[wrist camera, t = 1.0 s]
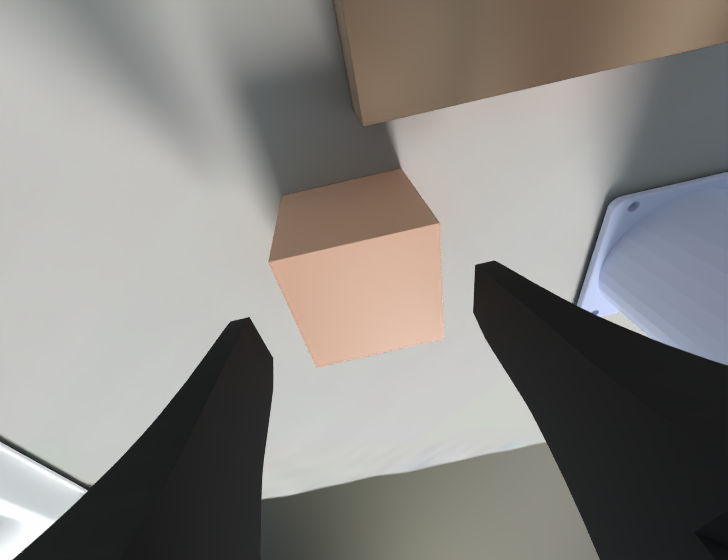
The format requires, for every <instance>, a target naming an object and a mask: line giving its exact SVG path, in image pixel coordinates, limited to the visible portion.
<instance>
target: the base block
mask: <svg viewBox="0 0 728 560" xmlns="http://www.w3.org/2000/svg"><path fill="white" fill-rule="evenodd" d="M333 4H334V10H335V15H336V21H337V26H338V31H339V37H340V42H341V48H342V53H343V59H344V64H345V69H346V75H347V80H348V86H349V91H350V96H351V102H352V107H353V110H354V112H355V114H356V115H357V117H358V119H359V120H360V122H361V123H362V125H363V127H364V126H368V125H372V124H377V123H381V122H385V121H390V120H394V119H398V118H403V117H407V116H411V115H415V114H420V113H424V112H428V111H433V110H437V109H441V108H446V107H450V106H454V105H458V104H463V103H467V102H471V101H476V100H480V99H484V98H489V97H493V96H497V95H501V94H506V93H510V92H514V91H519V90H523V89H527V88H532V87H536V86H540V85H544V84H549V83H553V82H557V81H562V80H566V79H570V78H575V77H579V76H583V75H587V74H592V73H596V72H600V71H605V70H609V69H613V68H618V67H622V66H626V65H630V64H635V63H639V62H643V61H648V60H652V59H656V58H661V57H665V56H669V55H673V54H678V53H682V52H686V51H691V50H695V49H699V48H704V47H708V46H712V45H716V44H721V43H725V42H728V0H333Z"/></svg>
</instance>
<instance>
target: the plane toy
mask: <svg viewBox="0 0 728 560" xmlns="http://www.w3.org/2000/svg"><path fill="white" fill-rule="evenodd" d="M87 491H88V490H86V489H84V488H83V487H81V486H79V485H77V484H75V483H74V482H72V481H70V480H68V479H66V478H65V477H63V476H61V475H59V474H57V473H56V472H54V471H52V470H50V469H48V468H47V467H45V466H43V465H41V464H39V463H37V462H36V461H34V460H32V459H30V458H28V457H27V456H25V455H23V454H21V453H19V452H18V451H16V450H14V449H12V448H10V447H8V446H7V445H5V444H3V443H1V442H0V560H13V559H14V558H15V557H16V556H17V555H18V554H20V553H21V552H22V551H23V550H24V549H25V548H26V547H27V546H29V545H30V544H31V543H32V542H33V541H34V540H35V539H36V538H38V537H39V536H40V535H41V534H42V533H43V532H44V531H46V530H47V529H48V528H49V527H50V526H51V525H52V524H53V523H54V522H55V521H56V520H58V519H59V518H60V517H61V516H62V515H63V514H64V513H65V512H66V511H67V510H68V509H70V508H71V507H72V506H73V505H74V504H75V503H76V502H77V501H78V500H79V499H80V498H81V497H82V496H83V495H84V494H85V493H86V492H87Z"/></svg>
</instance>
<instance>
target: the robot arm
mask: <svg viewBox="0 0 728 560" xmlns="http://www.w3.org/2000/svg"><path fill="white" fill-rule="evenodd" d="M620 312H621V313H622V314H623V315H624V316H625V317H626V318H627V319H629V320H630V321H631V322H632V323H633V324H634V325H635V326H637V327H638V328H639V329H640V330H641V331H642V332H644V333H645V334H646V335H647V336H648V337H649V338H648V337H646V336H643V335H641V334H639V333H636V332H634V331H631V330H629V329H626V328H624V327H622V326H619V325H617V324H615V323H612V322H610V321H608V320H606V319H603V318H601V317H602V316H607V315H611V314H615V313H620ZM473 313H474V315H475V317H476V319H477V322H478V324H479V326H480V328H481V330H482V332H483V334H484V337H485V339H486V340H487V342H488V344H489V345H490V347H491V349H492V350H493V352H494V353H495V355H496V357H497V358H498V360H499V361H500V363H501V364H502V366H503V368H504V369H505V371H506V372H507V374H508V376H509V377H510V379H511V380H512V382H513V383H514V385H515V387H516V388H517V390H518V391H519V393H520V394H521V396H522V398H523V399H524V401H525V403H526V404H527V406H528V408H529V409H530V411H531V413H532V415H533V417H534V419H535V421H536V422H537V424H538V426H539V428H540V430H541V432H542V434H543V436H544V438H545V440H546V442H547V444H548V446H549V448H550V450H551V452H552V454H553V457H554V458H555V461H556V463H557V464H558V467H559V469H560V471H561V473H562V475H563V477H564V479H565V482H566V484H567V486H568V488H569V490H570V492H571V495H572V497H573V499H574V501H575V504H576V506H577V508H578V510H579V512H580V514H581V517H582V519H583V521H584V523H585V525H586V528H587V530H588V533H589V535H590V537H591V540H592V542H593V545H594V547H595V549H596V552H597V554H598V556H599V558H600V560H728V172H725V173H721V174H716V175H712V176H708V177H703V178H699V179H694V180H690V181H686V182H681V183H677V184H673V185H668V186H664V187H659V188H655V189H651V190H646V191H642V192H638V193H633V194H629V195H624V196H620V197H618V198H616V199H614V200H613V201H612V202H611V203H610V204H609V206H608V208H607V211H606V214H605V217H604V220H603V224H602V227H601V230H600V233H599V236H598V239H597V243H596V246H595V249H594V252H593V255H592V259H591V262H590V265H589V268H588V271H587V274H586V278H585V281H584V284H583V287H582V290H581V293H580V297H579V300H578V303H577V306H576V305H574V304H572V303H570V302H568V301H567V300H565V299H563V298H561V297H559V296H557V295H555V294H553V293H551V292H550V291H548V290H546V289H544V288H542V287H540V286H539V285H537V284H535V283H533V282H532V281H530V280H528V279H526V278H525V277H523V276H521V275H519V274H518V273H516V272H514V271H512V270H511V269H509V268H507V267H505V266H504V265H502V264H500V263H498V262H496V261H490V262H486V263H482V264H477V265H475V283H474V307H473ZM272 394H273V357H272V355H271V354H270V352H269V350H268V349H267V347H266V345H265V343H264V342H263V340H262V338H261V336H260V335H259V333H258V331H257V329H256V328H255V326H254V324H253V322H252V321H251V319H250V317H248V318H244V319H239V320H235V321H231V322H230V323H229V324H228V325H227V327H226V328H225V329H224V331H223V332H222V333H221V335H220V336H219V338H218V339H217V340H216V342H215V343H214V344H213V346H212V347H211V349H210V350H209V351H208V353H207V354H206V356H205V357H204V358H203V360H202V361H201V362H200V364H199V365H198V366H197V368H196V369H195V370H194V372H193V373H192V375H191V376H190V377H189V379H188V380H187V381H186V383H185V384H184V385H183V386H182V388H181V389H180V390H179V391H178V393H177V394H176V395H175V396H174V398H173V399H172V400H171V401H170V403H169V404H168V405H167V406H166V408H165V409H164V410H163V411H162V413H161V414H160V415H159V416H158V417H157V419H156V420H155V421H154V422H153V423H152V424H151V425H150V427H149V428H148V429H147V430H146V431H145V432H144V433H143V435H142V436H141V437H140V438H139V439H138V440H137V441H136V442H135V443H134V444H133V445H132V447H131V448H130V449H129V450H128V451H127V452H126V453H125V454H124V455H123V456H122V457H121V458H120V459H119V460H118V461H117V462H116V463H115V464H114V465H113V466H112V467H111V468H110V469H109V470H108V471H107V472H106V473H105V474H104V475H103V476H102V477H101V478H100V479H99V480H98V481H97V482H96V483H95V484H94V485H93V486H92V487H91V488H90V489H89V490H88V491H87V492H86V493H85V494H84V495H83V496H82V497H81V498H80V499H79V500H78V501H77V502H76V503H75V504H74V505H73V506H72V507H71V508H70V509H68V510H67V511H66V512H65V513H64V514H63V515H62V516H61V517H60V518H59V519H58V520H56V521H55V522H54V523H53V524H52V525H51V526H50V527H49V528H48V529H47V530H46V531H44V532H43V533H42V534H41V535H40V536H39V537H38V538H36V539H35V540H34V541H33V542H32V543H31V544H30V545H29V546H27V547H26V548H25V549H24V550H23V551H22V552H21V553H20V554H18V555H17V556H16V557H15V558H14V559H13V560H260V535H261V533H260V532H261V495H262V473H263V462H264V454H265V447H266V439H267V432H268V424H269V417H270V410H271V402H272Z"/></svg>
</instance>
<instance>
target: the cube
mask: <svg viewBox="0 0 728 560" xmlns="http://www.w3.org/2000/svg"><path fill="white" fill-rule="evenodd" d="M268 263H269V265H270V267H271V269H272V271H273V274H274V276H275V278H276V280H277V282H278V285H279V287H280V289H281V291H282V293H283V296H284V298H285V300H286V302H287V304H288V307H289V309H290V311H291V313H292V315H293V318H294V320H295V322H296V324H297V326H298V329H299V331H300V333H301V335H302V337H303V339H304V342H305V344H306V346H307V348H308V350H309V353H310V355H311V357H312V359H313V361H314V364H315V366H316V368H318V367H322V366H326V365H331V364H335V363H340V362H344V361H349V360H353V359H357V358H362V357H366V356H371V355H375V354H380V353H384V352H388V351H393V350H397V349H402V348H406V347H411V346H415V345H419V344H424V343H428V342H433V341H437V340H441V339H444V319H443V294H442V268H441V243H440V223H439V221H438V220H437V218H436V217H435V216H434V214H433V213H432V211H431V210H430V209H429V207H428V206H427V204H426V203H425V201H424V200H423V199H422V197H421V196H420V194H419V193H418V192H417V190H416V189H415V187H414V186H413V184H412V183H411V182H410V180H409V179H408V177H407V176H406V175H405V173H404V172H403V170H402V169H401V168H400V169H396V170H392V171H387V172H383V173H379V174H374V175H370V176H366V177H361V178H357V179H353V180H348V181H344V182H340V183H335V184H331V185H327V186H322V187H318V188H314V189H309V190H305V191H301V192H296V193H292V194H288V195H283V196H282V197H281V202H280V207H279V212H278V217H277V222H276V227H275V232H274V237H273V242H272V247H271V252H270V257H269V262H268Z"/></svg>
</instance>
